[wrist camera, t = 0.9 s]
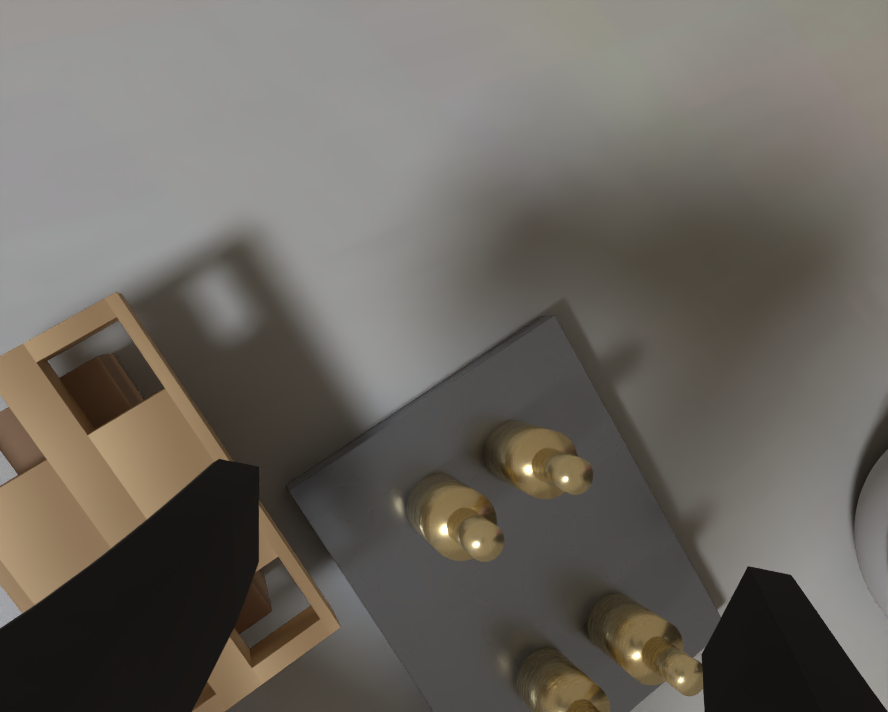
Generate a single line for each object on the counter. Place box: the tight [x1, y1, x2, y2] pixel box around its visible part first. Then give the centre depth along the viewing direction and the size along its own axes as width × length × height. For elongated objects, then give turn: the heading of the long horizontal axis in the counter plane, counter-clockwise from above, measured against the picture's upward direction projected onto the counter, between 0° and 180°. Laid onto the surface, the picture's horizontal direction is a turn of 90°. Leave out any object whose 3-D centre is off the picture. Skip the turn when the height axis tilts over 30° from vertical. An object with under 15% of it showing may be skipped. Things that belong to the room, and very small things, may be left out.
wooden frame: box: [0, 292, 340, 712], centre depth 18 cm, size 6×10×1 cm, turn 32°
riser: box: [0, 354, 272, 634], centre depth 20 cm, size 3×8×3 cm, turn 32°
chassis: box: [286, 316, 721, 712], centre depth 23 cm, size 10×13×5 cm
